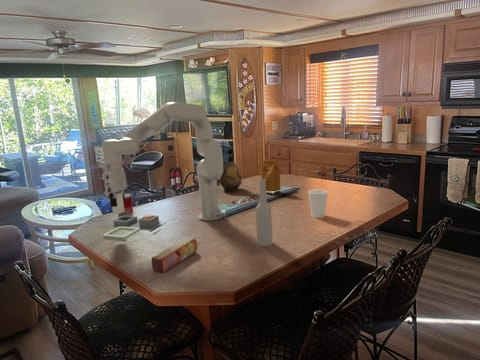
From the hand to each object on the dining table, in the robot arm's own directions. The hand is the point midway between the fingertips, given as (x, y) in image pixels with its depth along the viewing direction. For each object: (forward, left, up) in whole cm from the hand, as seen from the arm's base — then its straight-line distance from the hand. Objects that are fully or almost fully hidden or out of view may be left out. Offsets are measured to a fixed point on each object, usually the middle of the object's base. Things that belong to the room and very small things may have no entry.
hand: (118, 204), depth 169 cm
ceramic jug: (-18, -95, -16) cm, 98 cm away
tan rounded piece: (-7, -13, -14) cm, 20 cm away
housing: (+1, -13, -16) cm, 20 cm away
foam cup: (-85, -49, -16) cm, 100 cm away
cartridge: (0, 0, -4) cm, 4 cm away
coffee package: (-47, -93, -16) cm, 106 cm away
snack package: (-41, +18, -16) cm, 47 cm away
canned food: (+22, -31, -16) cm, 41 cm away
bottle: (-69, -7, -16) cm, 71 cm away
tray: (0, 0, -16) cm, 16 cm away
